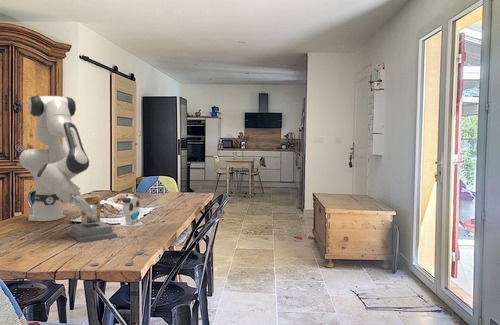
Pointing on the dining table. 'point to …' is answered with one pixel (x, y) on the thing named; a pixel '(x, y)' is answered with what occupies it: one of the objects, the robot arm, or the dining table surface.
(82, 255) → the dining table surface
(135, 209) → the panda figurine
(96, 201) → the candy box
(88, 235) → the socket housing
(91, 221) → the metal pin
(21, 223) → the dining table surface
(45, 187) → the robot arm
